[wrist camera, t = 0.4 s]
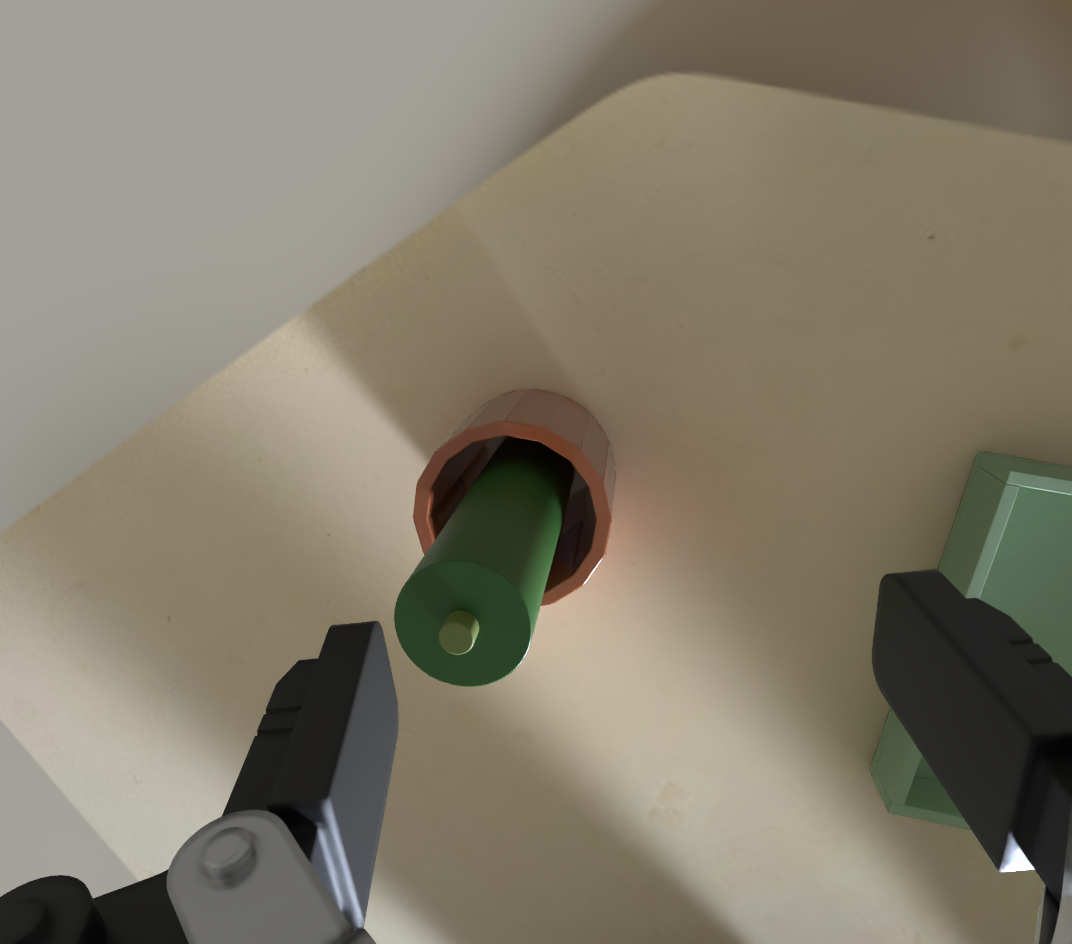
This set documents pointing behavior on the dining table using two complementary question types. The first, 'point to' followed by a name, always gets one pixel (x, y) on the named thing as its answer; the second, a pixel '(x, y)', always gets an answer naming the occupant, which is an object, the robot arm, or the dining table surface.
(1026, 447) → the dining table surface
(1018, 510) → the tray
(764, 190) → the dining table surface
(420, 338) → the dining table surface
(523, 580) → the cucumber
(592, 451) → the crock
